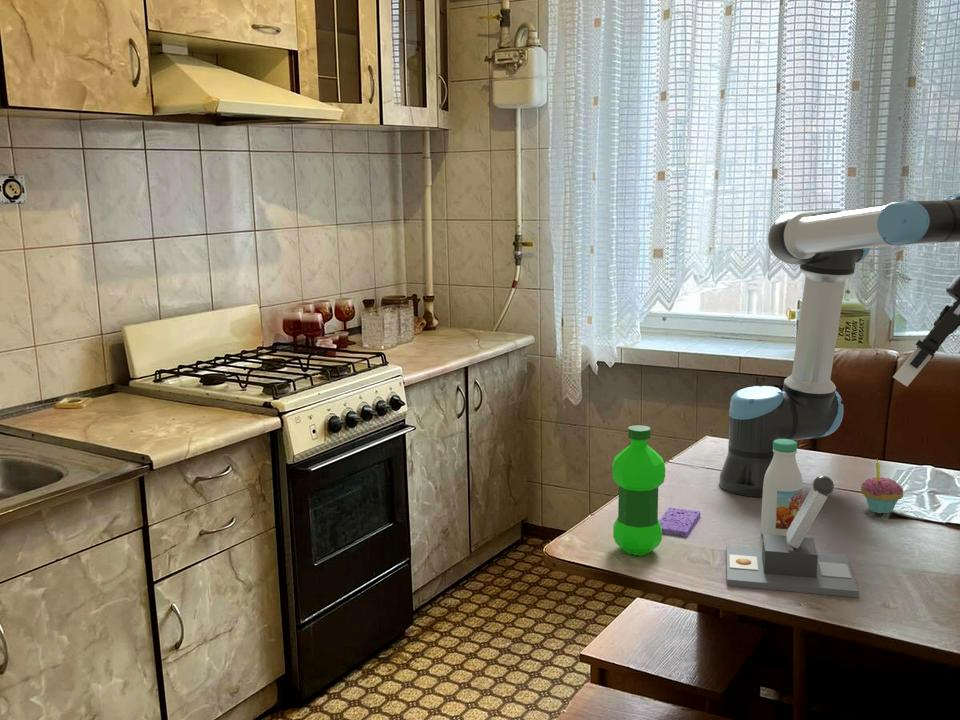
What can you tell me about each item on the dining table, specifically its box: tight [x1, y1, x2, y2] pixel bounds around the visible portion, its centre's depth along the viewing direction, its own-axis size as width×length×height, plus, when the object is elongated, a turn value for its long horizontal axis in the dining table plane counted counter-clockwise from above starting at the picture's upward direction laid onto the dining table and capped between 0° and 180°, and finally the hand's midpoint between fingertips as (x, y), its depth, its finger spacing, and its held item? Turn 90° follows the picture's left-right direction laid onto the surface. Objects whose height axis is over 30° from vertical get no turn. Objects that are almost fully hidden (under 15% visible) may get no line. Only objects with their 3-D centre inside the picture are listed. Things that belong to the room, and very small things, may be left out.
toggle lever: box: [786, 475, 835, 549], centre depth 165 cm, size 4×6×14 cm, turn 166°
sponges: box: [658, 506, 701, 538], centre depth 193 cm, size 7×13×2 cm, turn 154°
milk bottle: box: [760, 439, 804, 536], centre depth 184 cm, size 8×8×20 cm
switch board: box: [725, 534, 859, 599], centre depth 168 cm, size 22×16×6 cm
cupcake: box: [860, 458, 904, 514], centre depth 198 cm, size 9×8×12 cm
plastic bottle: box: [611, 424, 666, 556], centre depth 177 cm, size 10×10×25 cm
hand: (899, 381), depth 164 cm, fingers open, 13 cm apart
